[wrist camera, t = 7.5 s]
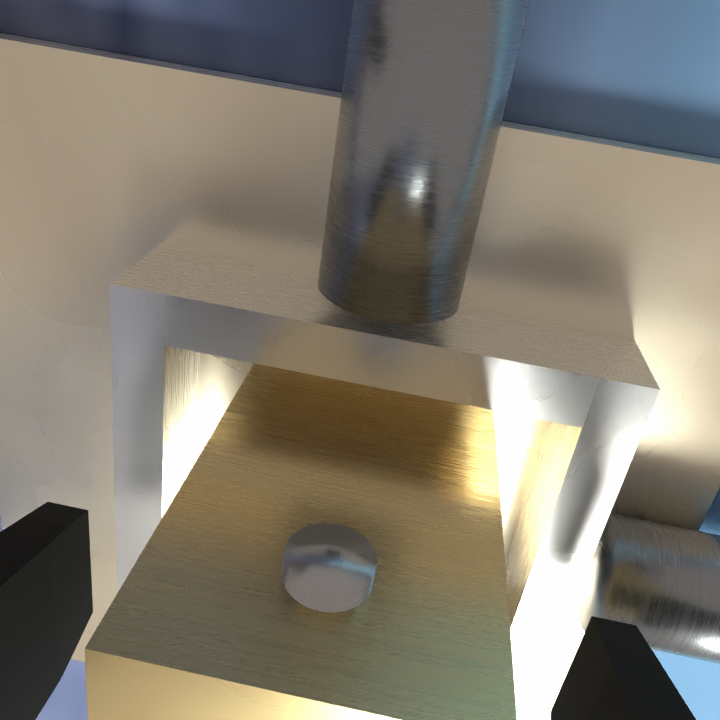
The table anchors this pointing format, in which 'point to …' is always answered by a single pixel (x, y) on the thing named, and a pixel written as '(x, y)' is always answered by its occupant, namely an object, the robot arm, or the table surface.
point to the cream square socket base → (369, 302)
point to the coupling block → (319, 568)
